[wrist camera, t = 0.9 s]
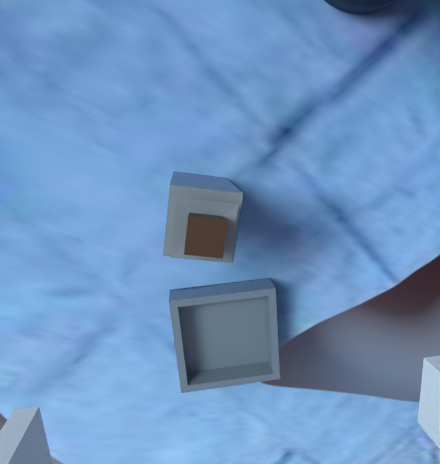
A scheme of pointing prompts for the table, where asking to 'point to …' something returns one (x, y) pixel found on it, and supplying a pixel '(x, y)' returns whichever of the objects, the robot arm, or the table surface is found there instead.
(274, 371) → the tray
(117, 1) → the table surface
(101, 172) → the table surface
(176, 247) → the perfume bottle
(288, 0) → the table surface
